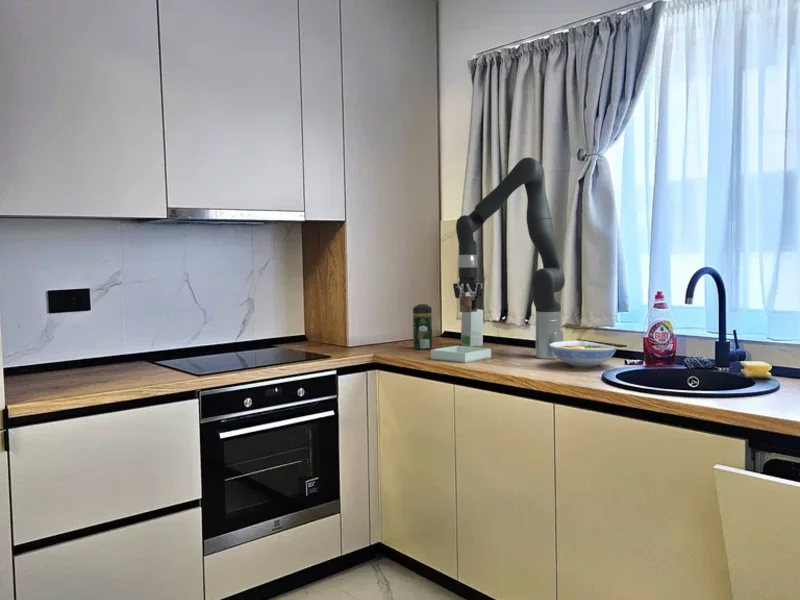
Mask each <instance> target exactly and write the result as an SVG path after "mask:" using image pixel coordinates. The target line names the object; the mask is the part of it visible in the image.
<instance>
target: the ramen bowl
mask: <svg viewBox="0 0 800 600" xmlns="http://www.w3.org/2000/svg"><path fill="white" fill-rule="evenodd" d="M550 347H551V349H552V351H553V353H554V354H555V355H556V356H557V359H559V360H560V361H562V362H564V363H566V364H569V365H571V366H572V367H574V368H585V369H587V368H589V369H590V368H594V367H596V366H598V365H600V364H603V363H606V362H607V361H609V360H610V359H611V358H612V357H613V356H614V355H615V354H616V351H617V349H618V348H627V347H628V346H627V345H626V344H621V343H620V344H619V343H613V342H612V343H611V342H604V341H595V340H588V339H579V338H576V339H575V340H567V341H565V340H563V342H554V343H551V344H550Z"/></svg>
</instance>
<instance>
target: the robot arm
mask: <svg viewBox="0 0 800 600" xmlns="http://www.w3.org/2000/svg"><path fill="white" fill-rule="evenodd" d="M545 180H546V178H545V170H544V166H543V164H542V163H541V162H540V161H538V160H536V159H535V158H532V157H531V156H530V157H523V158H521V159H520V160H519V161H518V162H517V163H516V164H515V165H514V167H512V169H511V170H510V172H509V173H508V174H507V175H506V176H505V177H504V179H503V180H501V182H500V183H499V184H498V185H497V186H496V187H495V188H494V189H493V190H492V191H490V193H488V194H487V195H486V196H485V197H484V198H482V199H481V200H480V201H479V202H478V203H477V204H476V205H475V207H474V210H472V212H470V213H469V215H467V214H465V215H464V214H463V215H461V216H459V217H458V219H457V220H456V224H455V231H456V238H457V241H458V263H457V265H458V266H457V267H458V279H459V280H458V282H457V283H452V287H453V292H454V298H456V299H459V301H460V297H462V296H467V294H469V296H471V297H472V310H476V309H478V300H479V299H482V298H483V293H484V286H485V284H484V283H479V282H478V269H479V268H478V255H477V254H478V253H477V252H478V251H477V247H478V246H477V242H476V240H475V239H474V233H475V232H476V231H478V230H479V229H480V228H481V227H482V226H483V225H484V223H486V221H487V220H488V219H490V218H491V217H492V216H493V215H495V213H496V212H497V211H499V210H500V209H501V208H503V207H502V206H503V205H505V203H506V201H507V200H508V199H509V197H510V196H511V195H512V194H513V193H514V192H515V191H516V190H517V189H518V188H520V187H521V186H523V185H524V189H525V192H526V198H527V205H526V225H527V231H528V235H529V238H530V240H531V242H532V244H533V245H534V247H535V248H536V249H535V250H536V251H537V252H538V254H539V255H540V258H541V262H542V268H539V269H537V270H536V271H535V272H534V273H533V274H534V275H533V277H532V298H533V299H532V300H533V301H532V303H533V305H534V306H535V358H537V359H551V360H553V359H555V360H556V359H558V358H557V356H556V355H555V354H554V353H553V351H552V349H551V347H550V344H551V343H554V342H563V341H564V332H563V331H562V305H561V304H560V302H558V300H556V298H555V297H556V296H555V293H558V292H561V291H562V290H563V288H564V287H565V285H566V284H565V283H566V277H565V274H564V269H563V267H562V263H561V259H560V256H559V252H558V248H557V242H556V237H555V236H556V235H555V230H554V224H553V219H552V215H551V211H550V210H551V209H550V205H549V201H548V197H547V191H546V181H545Z"/></svg>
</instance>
